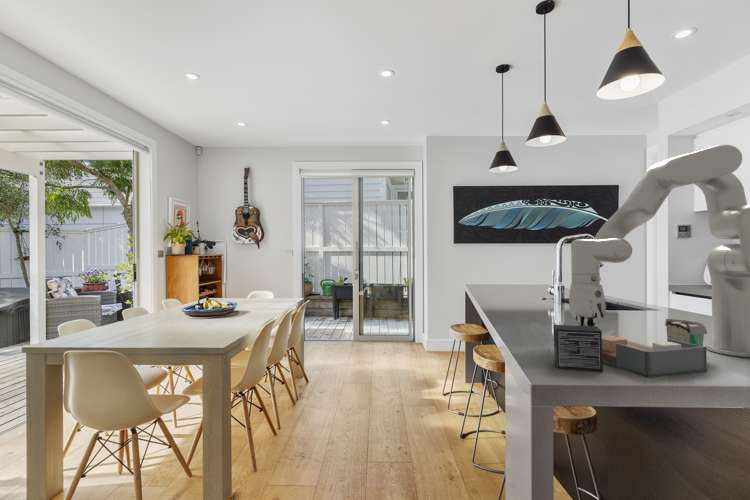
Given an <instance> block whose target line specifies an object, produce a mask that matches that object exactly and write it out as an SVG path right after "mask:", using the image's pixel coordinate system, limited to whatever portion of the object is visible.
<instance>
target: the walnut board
mask: <svg viewBox="0 0 750 500" xmlns="http://www.w3.org/2000/svg"><path fill="white" fill-rule="evenodd" d="M627 346H630V347H633V348H637V349H641V350H644V351H653V346H649V345H646V344H643V343H637V342H634V341H630V340H627ZM602 360H603V364H604V363H605V364H608V365H610V366H613V367H616V351H614V352H610V351H606V350H603V349H602Z"/></svg>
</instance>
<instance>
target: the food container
mask: <svg viewBox="0 0 750 500" xmlns="http://www.w3.org/2000/svg"><path fill="white" fill-rule="evenodd" d="M664 323H665V324H664V325H665V327H666V339H667V341H666V342H669V339H673V340H677V341H682V342H686V343H690V344H695V345H699V346H704V338H705V337H704V336H705V335H707V334H708V331H707V327H706V326H705V324H704V323H702V322H697V321H694V320H693V321H691V320H685V319H676V318H665V322H664Z"/></svg>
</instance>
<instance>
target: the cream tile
mask: <svg viewBox="0 0 750 500" xmlns="http://www.w3.org/2000/svg"><path fill="white" fill-rule="evenodd" d="M651 347H653V351H656V350H667V349H678V348H682V345H681V344H677V343H673V342H668V341H663V342H652V346H651Z"/></svg>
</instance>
